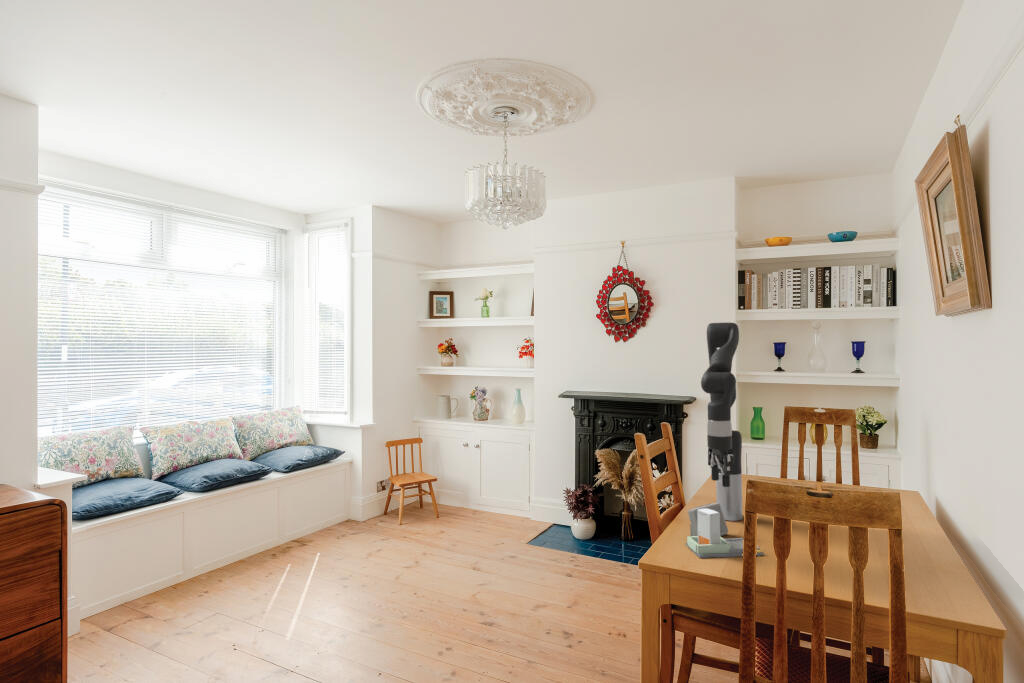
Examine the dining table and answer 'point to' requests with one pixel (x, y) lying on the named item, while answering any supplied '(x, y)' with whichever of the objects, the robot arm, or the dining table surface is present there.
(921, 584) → the dining table surface
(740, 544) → the cradle plate
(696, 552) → the grey green docking tray
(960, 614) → the dining table surface
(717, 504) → the digital clock
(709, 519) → the skincare box
